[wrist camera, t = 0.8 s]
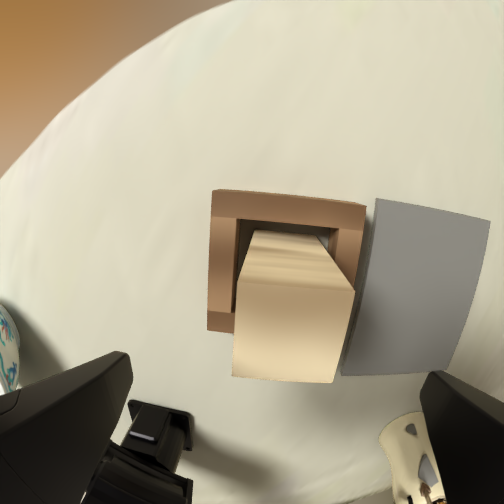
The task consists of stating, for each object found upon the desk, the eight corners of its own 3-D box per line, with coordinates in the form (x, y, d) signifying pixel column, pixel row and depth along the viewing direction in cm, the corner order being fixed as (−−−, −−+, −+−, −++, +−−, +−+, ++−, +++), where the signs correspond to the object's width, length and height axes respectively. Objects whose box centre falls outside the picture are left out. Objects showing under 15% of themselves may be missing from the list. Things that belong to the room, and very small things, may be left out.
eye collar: (334, 324, 20) (341, 341, 18) (214, 313, 21) (207, 330, 18) (354, 202, 18) (366, 206, 16) (219, 189, 19) (212, 190, 16)
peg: (307, 290, 20) (332, 382, 10) (250, 285, 20) (231, 376, 10) (314, 235, 19) (355, 291, 9) (255, 229, 19) (237, 281, 9)
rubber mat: (443, 366, 21) (446, 369, 20) (340, 371, 21) (341, 375, 21) (486, 220, 17) (490, 221, 17) (375, 198, 18) (379, 198, 17)
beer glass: (440, 418, 23) (486, 513, 8) (394, 453, 24) (423, 549, 10) (412, 400, 22) (466, 516, 8) (361, 439, 24) (388, 555, 9)
